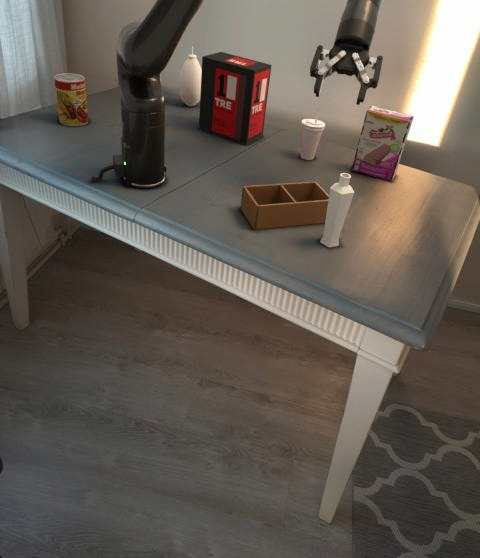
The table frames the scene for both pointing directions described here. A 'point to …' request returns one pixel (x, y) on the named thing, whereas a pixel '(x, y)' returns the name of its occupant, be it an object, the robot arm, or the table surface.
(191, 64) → the sauce bottle
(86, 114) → the canned food
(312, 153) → the smoothie
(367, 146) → the candy bar box
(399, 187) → the table surface
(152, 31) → the robot arm
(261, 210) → the divided tray
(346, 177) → the perfume bottle
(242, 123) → the cleaning product box
